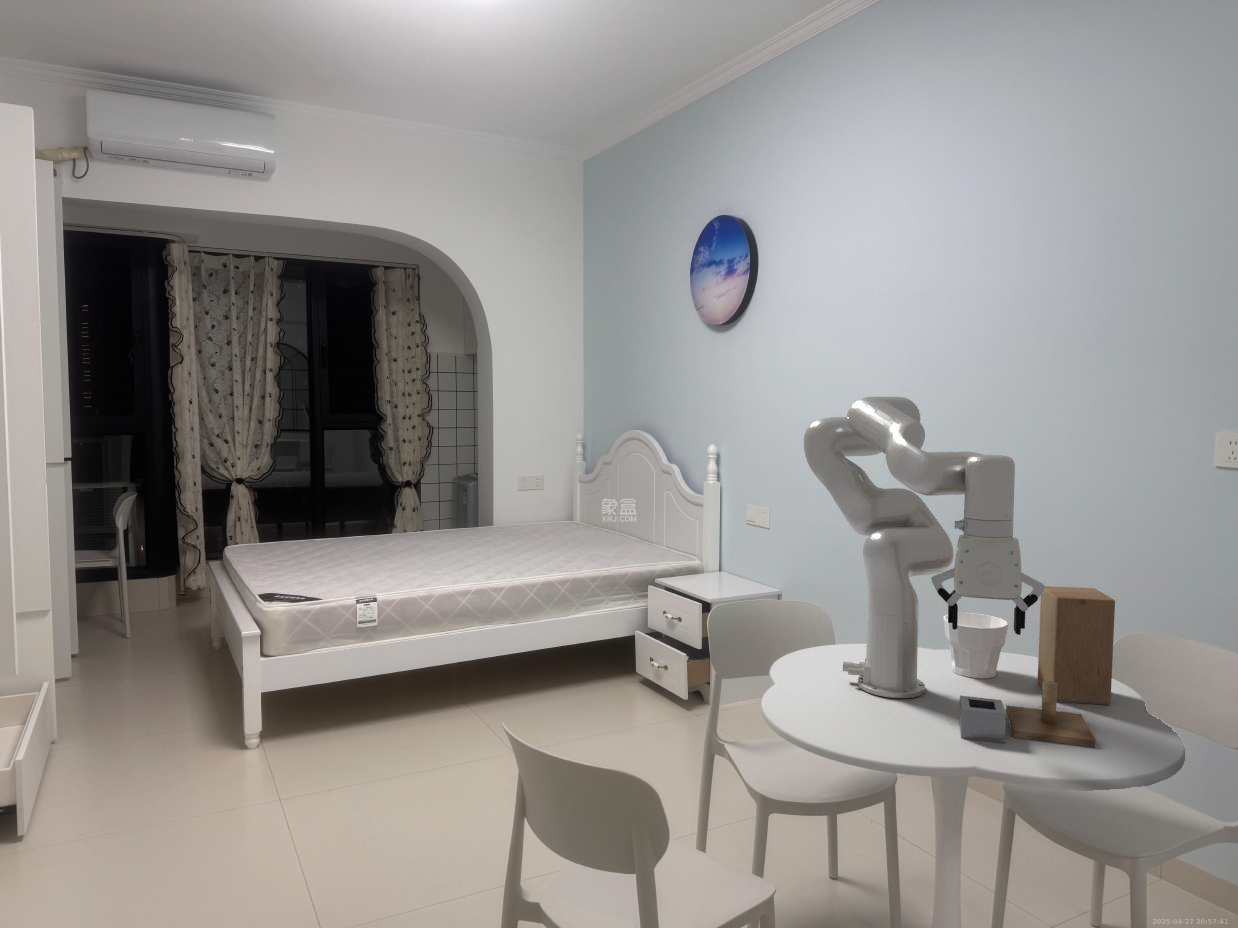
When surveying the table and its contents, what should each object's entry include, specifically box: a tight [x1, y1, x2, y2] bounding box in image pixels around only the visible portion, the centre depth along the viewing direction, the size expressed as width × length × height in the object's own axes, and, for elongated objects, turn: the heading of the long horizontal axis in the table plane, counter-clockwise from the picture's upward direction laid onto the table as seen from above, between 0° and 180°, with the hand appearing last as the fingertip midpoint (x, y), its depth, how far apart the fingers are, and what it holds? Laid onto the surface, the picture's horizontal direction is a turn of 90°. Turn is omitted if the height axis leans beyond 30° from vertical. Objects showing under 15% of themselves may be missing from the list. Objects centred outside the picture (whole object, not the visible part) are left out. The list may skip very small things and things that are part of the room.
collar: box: [958, 695, 1007, 744], centre depth 138 cm, size 7×7×5 cm
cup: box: [943, 612, 1009, 680], centre depth 169 cm, size 12×12×11 cm
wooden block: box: [1037, 585, 1116, 706], centre depth 155 cm, size 10×10×20 cm
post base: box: [1005, 681, 1096, 748], centre depth 139 cm, size 12×12×8 cm
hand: (985, 629), depth 136 cm, fingers open, 9 cm apart
